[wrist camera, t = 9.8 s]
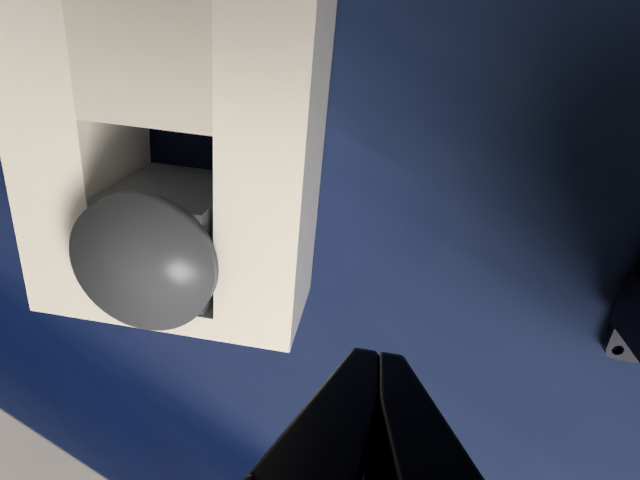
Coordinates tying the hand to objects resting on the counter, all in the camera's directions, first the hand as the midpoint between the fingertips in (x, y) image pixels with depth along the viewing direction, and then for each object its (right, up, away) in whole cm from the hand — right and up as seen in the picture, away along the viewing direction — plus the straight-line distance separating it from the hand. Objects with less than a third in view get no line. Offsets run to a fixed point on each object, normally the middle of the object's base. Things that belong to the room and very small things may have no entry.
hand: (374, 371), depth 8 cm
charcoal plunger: (-6, +4, +13) cm, 15 cm away
